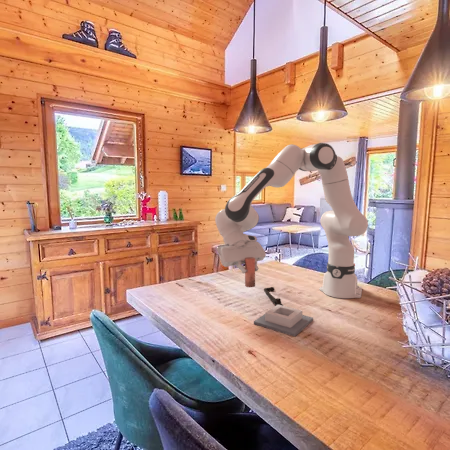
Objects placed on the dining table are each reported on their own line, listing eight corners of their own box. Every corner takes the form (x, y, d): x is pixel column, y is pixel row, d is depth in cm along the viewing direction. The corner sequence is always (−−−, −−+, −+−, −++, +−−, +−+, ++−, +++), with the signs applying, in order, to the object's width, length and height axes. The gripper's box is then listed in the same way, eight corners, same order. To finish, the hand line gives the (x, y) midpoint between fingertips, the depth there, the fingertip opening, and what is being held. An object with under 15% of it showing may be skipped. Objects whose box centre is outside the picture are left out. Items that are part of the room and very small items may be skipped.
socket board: (274, 310, 122) (274, 300, 122) (313, 320, 113) (313, 309, 112) (253, 323, 110) (253, 313, 109) (295, 336, 100) (295, 325, 100)
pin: (248, 283, 122) (248, 256, 120) (257, 285, 119) (257, 258, 118) (243, 286, 119) (242, 258, 117) (251, 287, 116) (251, 259, 115)
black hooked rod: (274, 294, 147) (290, 313, 117) (263, 295, 147) (277, 314, 117) (273, 283, 147) (290, 300, 117) (263, 284, 147) (277, 301, 117)
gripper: (217, 241, 117) (232, 271, 110) (258, 236, 128) (274, 263, 121) (212, 250, 121) (225, 280, 114) (252, 245, 132) (267, 271, 125)
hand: (251, 271), depth 118 cm, fingers closed on pin, 4 cm apart
